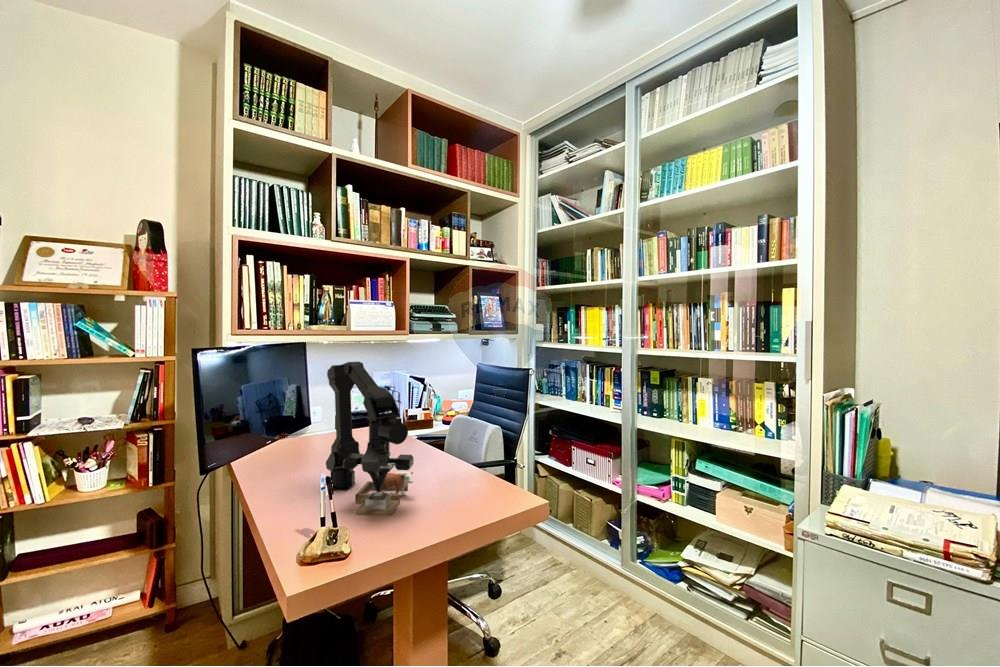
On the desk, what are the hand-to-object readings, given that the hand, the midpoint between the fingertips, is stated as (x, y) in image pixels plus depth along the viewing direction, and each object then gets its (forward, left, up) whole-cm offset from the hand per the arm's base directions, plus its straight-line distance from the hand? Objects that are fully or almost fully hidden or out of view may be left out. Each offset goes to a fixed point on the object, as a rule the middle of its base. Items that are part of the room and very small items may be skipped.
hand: (378, 491), depth 117 cm
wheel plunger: (0, 0, -4) cm, 4 cm away
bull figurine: (+2, +9, -5) cm, 11 cm away
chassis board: (-2, +5, -5) cm, 8 cm away
